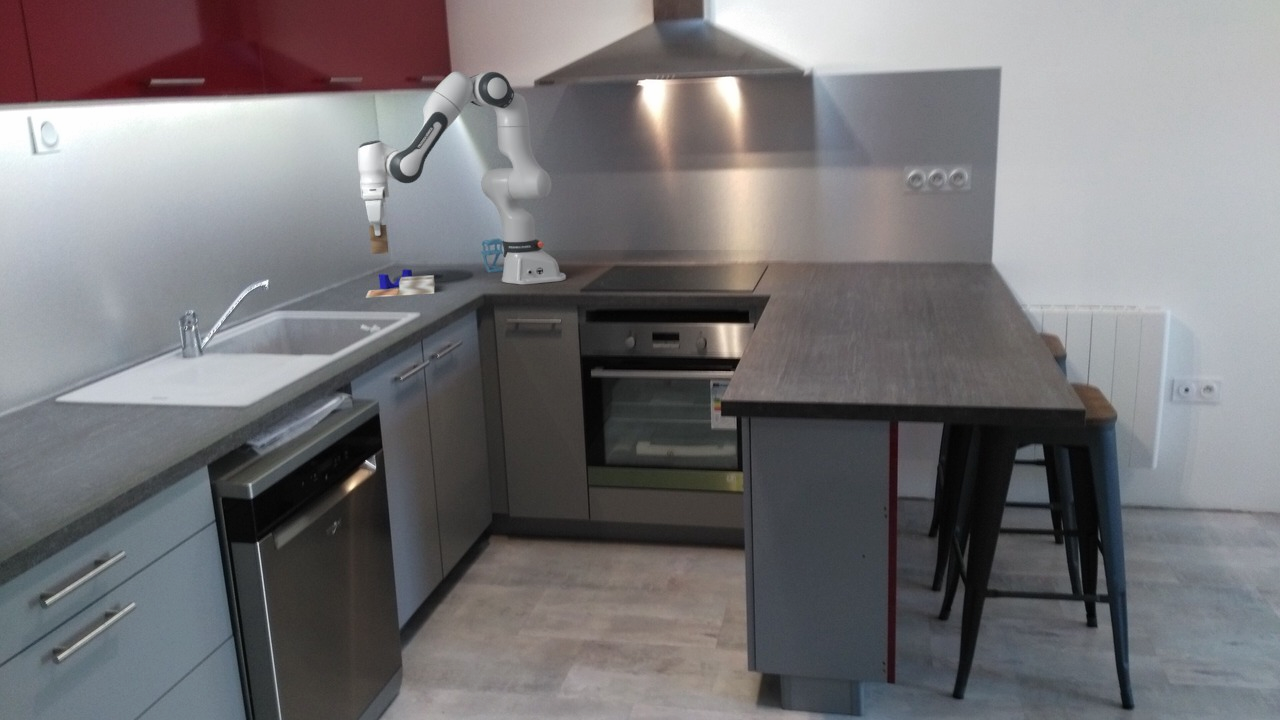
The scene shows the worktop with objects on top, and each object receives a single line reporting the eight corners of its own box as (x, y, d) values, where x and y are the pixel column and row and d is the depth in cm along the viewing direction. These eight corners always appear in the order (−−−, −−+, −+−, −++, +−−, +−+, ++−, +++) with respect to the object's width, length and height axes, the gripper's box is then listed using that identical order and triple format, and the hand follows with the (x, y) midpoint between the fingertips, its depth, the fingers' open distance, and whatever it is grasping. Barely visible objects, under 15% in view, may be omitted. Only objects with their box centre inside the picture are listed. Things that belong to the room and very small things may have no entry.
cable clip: (404, 285, 372) (402, 268, 371) (413, 286, 370) (411, 269, 368) (377, 291, 363) (375, 274, 362) (386, 292, 360) (384, 275, 359)
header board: (435, 289, 363) (433, 274, 362) (434, 296, 350) (433, 281, 349) (369, 293, 360) (367, 278, 358) (365, 300, 347) (364, 285, 346)
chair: (499, 267, 403) (496, 236, 400) (507, 270, 396) (505, 238, 393) (480, 269, 399) (477, 238, 396) (488, 272, 392) (486, 240, 389)
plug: (388, 251, 352) (386, 224, 350) (387, 253, 349) (385, 225, 347) (372, 252, 352) (369, 225, 349) (371, 254, 349) (369, 226, 346)
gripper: (367, 189, 355) (371, 231, 358) (362, 195, 335) (366, 238, 339) (386, 188, 356) (390, 230, 359) (382, 194, 336) (386, 237, 340)
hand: (378, 234), depth 349 cm, fingers closed on plug, 3 cm apart
